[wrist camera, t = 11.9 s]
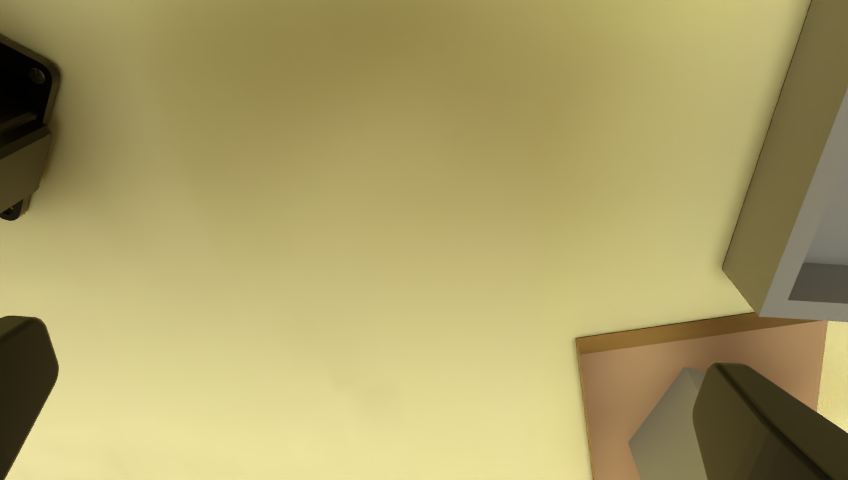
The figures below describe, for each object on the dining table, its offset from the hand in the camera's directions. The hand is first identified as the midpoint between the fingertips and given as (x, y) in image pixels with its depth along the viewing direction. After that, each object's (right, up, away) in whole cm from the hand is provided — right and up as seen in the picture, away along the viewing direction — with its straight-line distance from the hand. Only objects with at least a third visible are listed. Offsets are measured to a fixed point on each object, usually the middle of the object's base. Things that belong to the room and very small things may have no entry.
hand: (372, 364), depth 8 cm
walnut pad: (+12, -5, +17) cm, 22 cm away
